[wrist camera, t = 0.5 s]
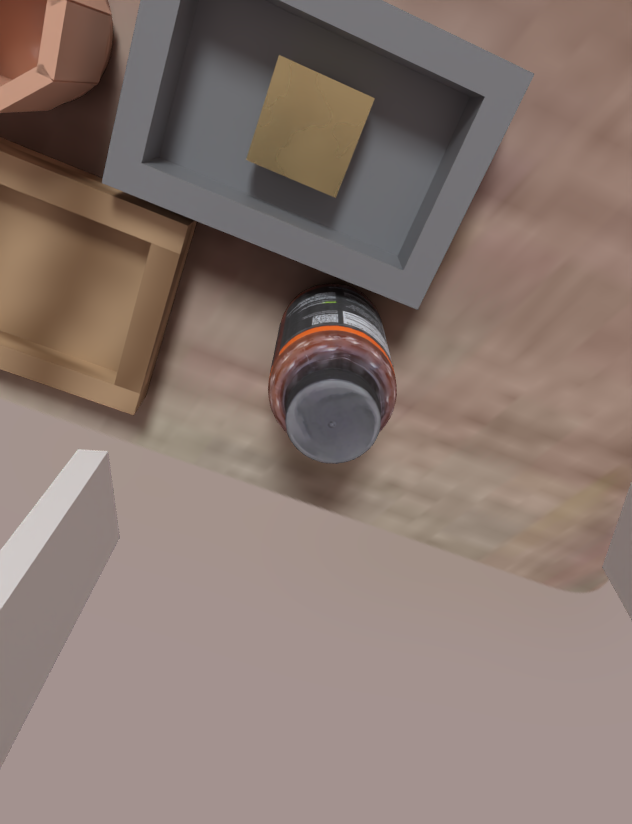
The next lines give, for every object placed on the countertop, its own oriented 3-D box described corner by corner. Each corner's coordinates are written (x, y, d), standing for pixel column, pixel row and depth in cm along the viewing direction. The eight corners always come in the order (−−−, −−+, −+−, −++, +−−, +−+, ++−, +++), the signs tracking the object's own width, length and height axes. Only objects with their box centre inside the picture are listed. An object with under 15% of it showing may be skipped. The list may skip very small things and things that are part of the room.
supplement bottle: (321, 395, 37) (316, 508, 27) (259, 321, 35) (228, 412, 25) (403, 340, 35) (431, 438, 25) (343, 258, 33) (347, 329, 23)
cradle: (128, 173, 31) (101, 182, 27) (186, -78, 26) (163, -106, 23) (408, 287, 33) (417, 309, 30) (509, 76, 29) (534, 73, 25)
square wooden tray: (-53, 326, 35) (-79, 341, 33) (-31, 124, 30) (-60, 127, 28) (145, 396, 37) (133, 415, 35) (198, 216, 32) (188, 225, 30)
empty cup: (-47, 68, 29) (-132, 61, 24) (-31, -106, 26) (-124, -158, 21) (96, 127, 30) (44, 133, 25) (128, -33, 27) (77, -65, 22)
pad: (248, 158, 29) (245, 160, 28) (280, 56, 27) (279, 54, 26) (335, 194, 29) (335, 198, 28) (373, 98, 27) (374, 98, 26)
